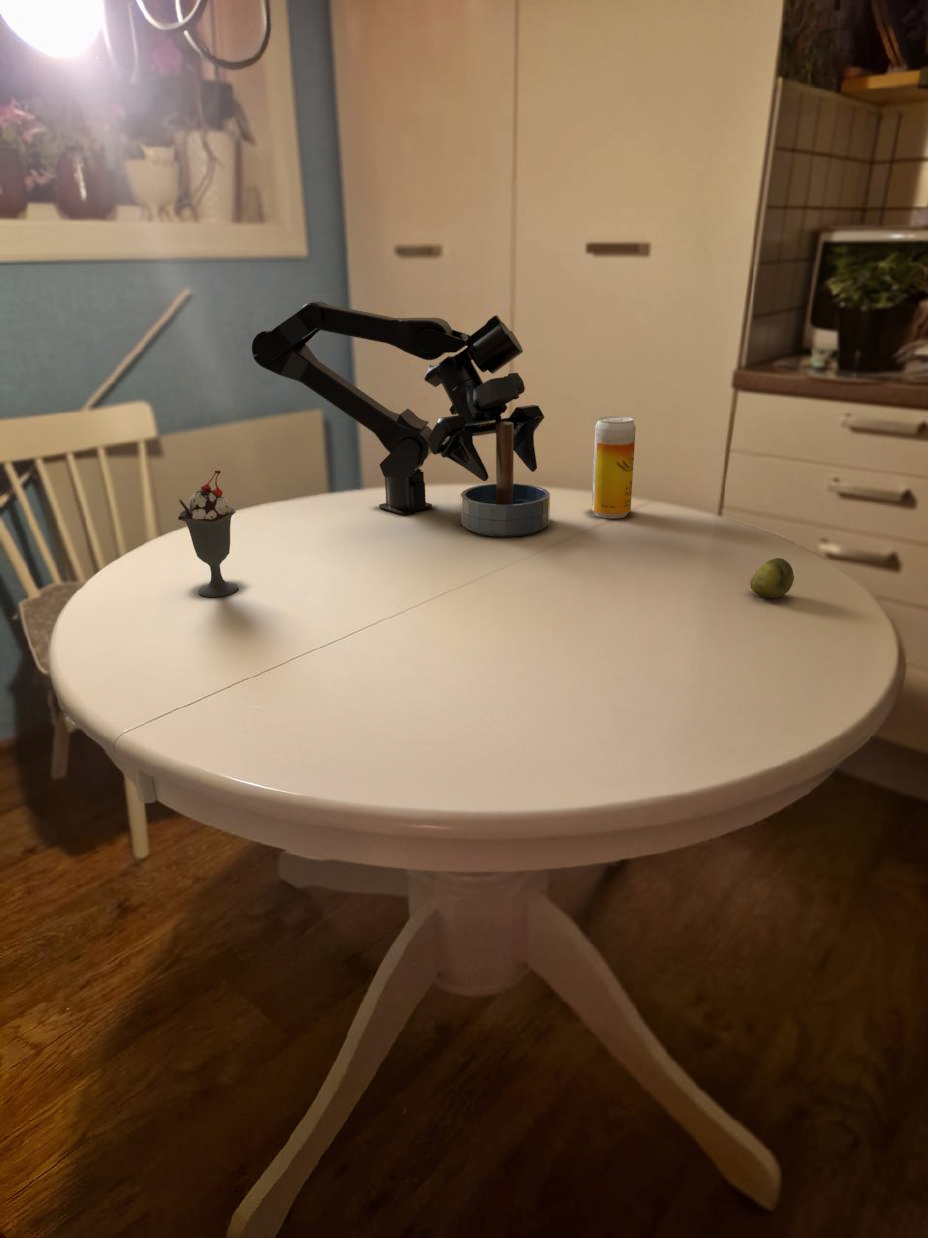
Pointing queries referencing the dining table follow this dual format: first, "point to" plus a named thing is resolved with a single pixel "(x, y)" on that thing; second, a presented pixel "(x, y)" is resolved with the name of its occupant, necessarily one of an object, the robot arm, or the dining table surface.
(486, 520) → the bowl
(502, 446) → the stick
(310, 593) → the dining table surface
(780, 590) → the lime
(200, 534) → the sundae
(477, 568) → the dining table surface
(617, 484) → the beer can
